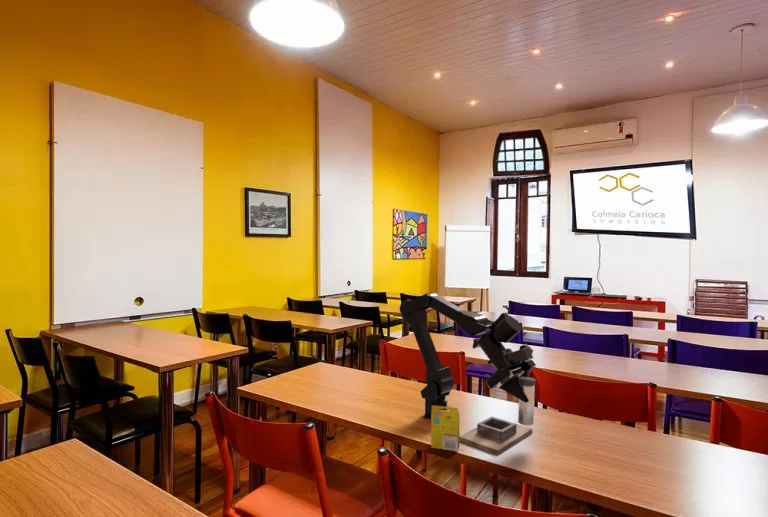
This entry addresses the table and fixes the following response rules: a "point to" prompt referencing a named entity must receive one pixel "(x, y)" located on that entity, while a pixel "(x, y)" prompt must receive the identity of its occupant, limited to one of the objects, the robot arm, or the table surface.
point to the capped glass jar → (527, 408)
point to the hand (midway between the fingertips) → (531, 400)
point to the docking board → (495, 435)
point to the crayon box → (445, 428)
